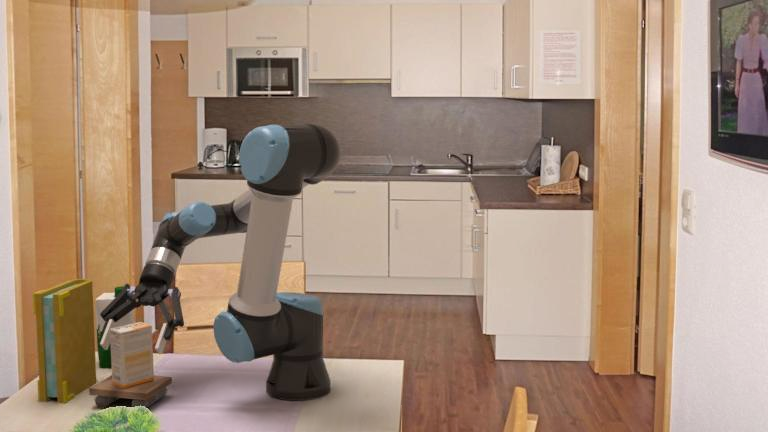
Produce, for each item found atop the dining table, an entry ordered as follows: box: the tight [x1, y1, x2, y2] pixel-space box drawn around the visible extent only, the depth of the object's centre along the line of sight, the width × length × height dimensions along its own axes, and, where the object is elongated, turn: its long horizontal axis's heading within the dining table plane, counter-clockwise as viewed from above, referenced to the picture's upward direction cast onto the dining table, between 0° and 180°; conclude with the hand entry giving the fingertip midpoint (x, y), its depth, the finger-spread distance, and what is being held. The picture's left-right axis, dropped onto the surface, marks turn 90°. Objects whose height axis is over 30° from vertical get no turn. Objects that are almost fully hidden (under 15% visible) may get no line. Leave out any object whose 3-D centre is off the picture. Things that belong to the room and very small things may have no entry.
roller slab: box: [88, 374, 173, 409], centre depth 210 cm, size 14×12×4 cm
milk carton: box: [94, 285, 135, 369], centre depth 237 cm, size 9×9×20 cm
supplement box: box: [110, 321, 155, 389], centre depth 209 cm, size 8×5×13 cm, turn 138°
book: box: [32, 278, 97, 404], centre depth 216 cm, size 17×7×25 cm, turn 168°
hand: (130, 349), depth 209 cm, fingers open, 13 cm apart
